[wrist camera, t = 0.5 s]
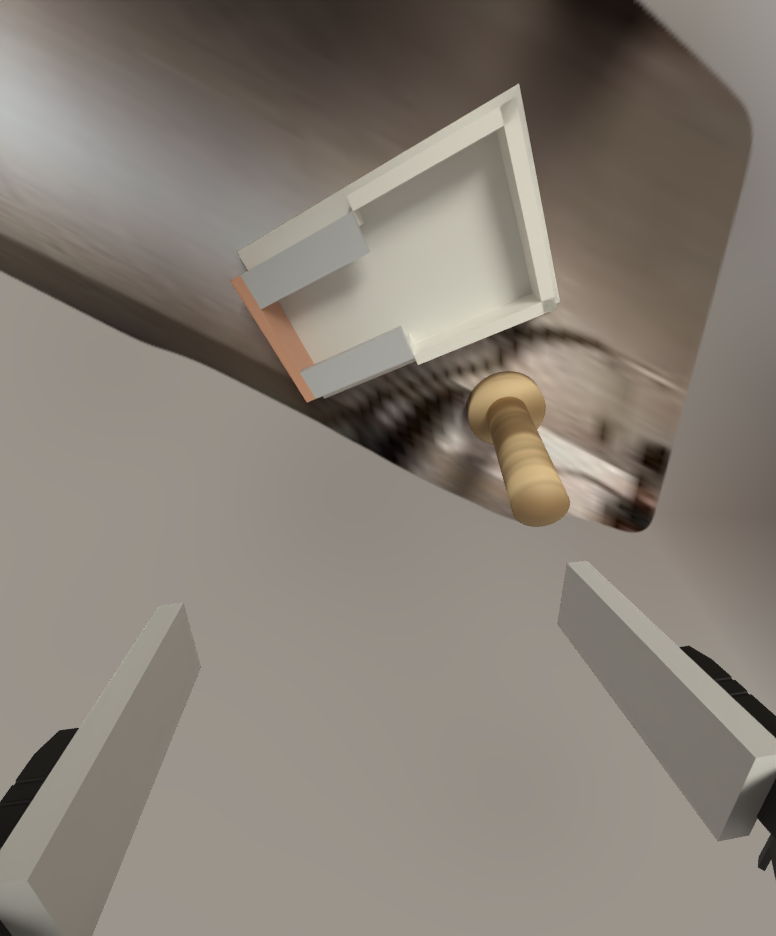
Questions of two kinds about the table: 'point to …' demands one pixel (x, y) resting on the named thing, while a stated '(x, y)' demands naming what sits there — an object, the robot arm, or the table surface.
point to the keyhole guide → (408, 257)
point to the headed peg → (519, 445)
